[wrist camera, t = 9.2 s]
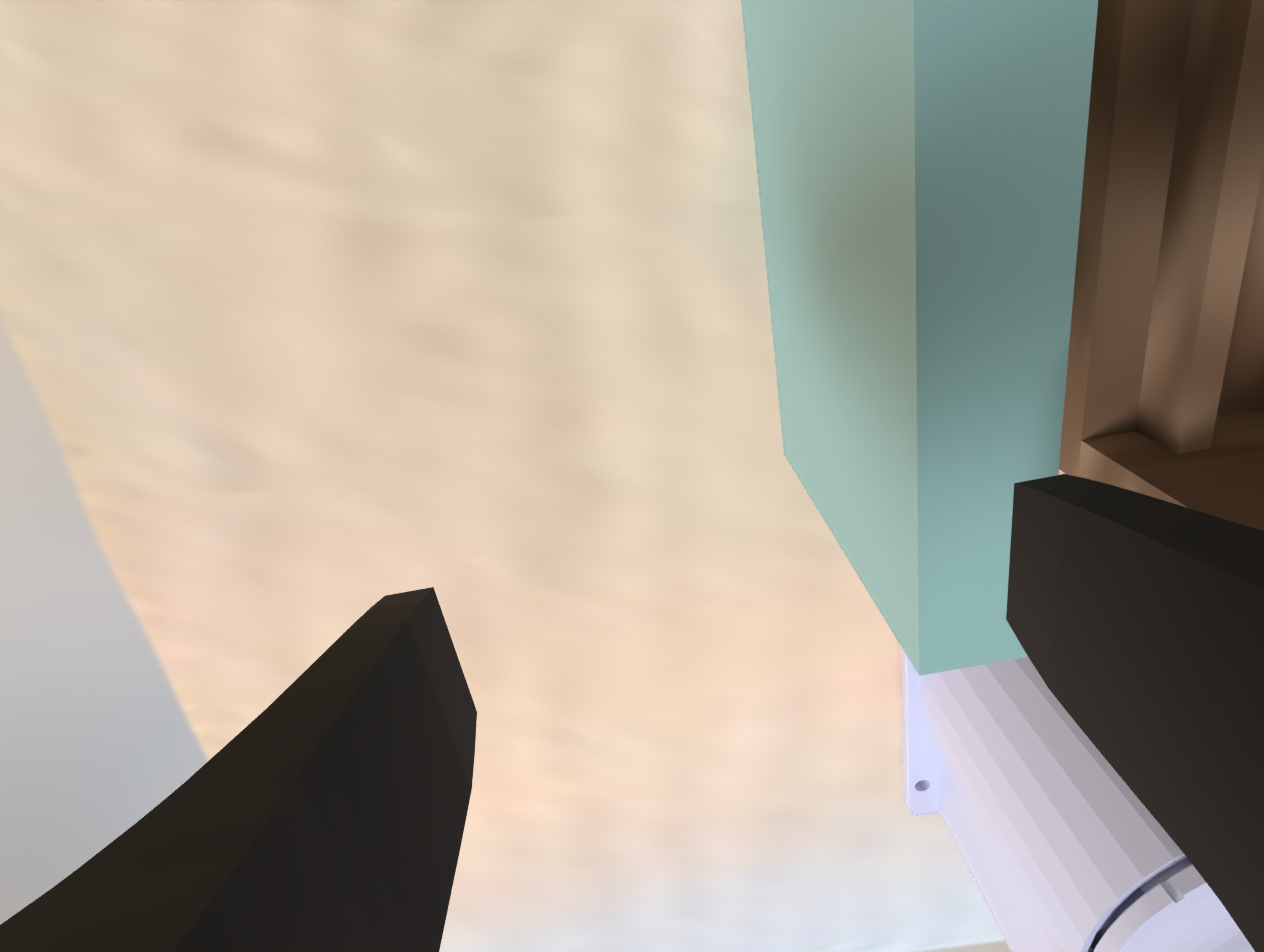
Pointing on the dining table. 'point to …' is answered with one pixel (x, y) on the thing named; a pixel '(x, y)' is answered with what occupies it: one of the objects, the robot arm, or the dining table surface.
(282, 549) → the dining table surface
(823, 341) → the teal sheet
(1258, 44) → the walnut rack
